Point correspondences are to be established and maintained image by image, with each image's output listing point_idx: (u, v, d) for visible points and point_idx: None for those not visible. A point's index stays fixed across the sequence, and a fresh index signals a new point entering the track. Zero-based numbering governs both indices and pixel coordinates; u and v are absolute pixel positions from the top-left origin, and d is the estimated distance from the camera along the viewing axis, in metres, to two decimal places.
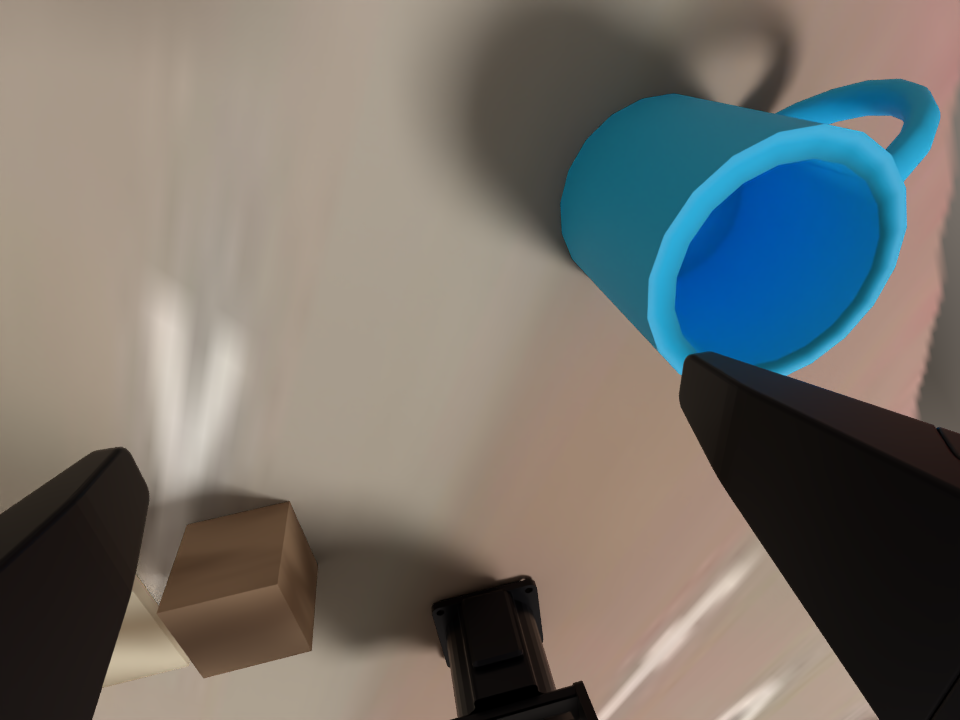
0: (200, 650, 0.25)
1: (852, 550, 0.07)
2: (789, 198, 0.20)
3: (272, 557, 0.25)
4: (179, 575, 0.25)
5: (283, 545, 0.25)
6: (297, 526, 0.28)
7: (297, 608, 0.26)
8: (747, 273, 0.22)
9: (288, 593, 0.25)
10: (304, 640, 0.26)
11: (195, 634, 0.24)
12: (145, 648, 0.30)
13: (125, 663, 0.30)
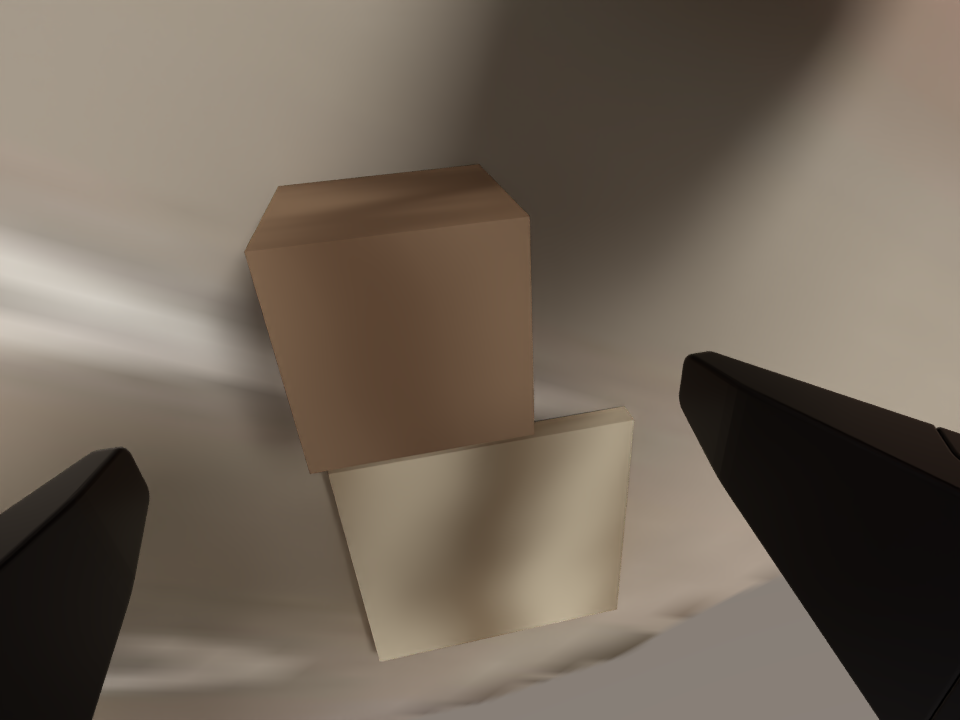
0: (443, 426, 0.12)
1: (852, 550, 0.07)
2: None
3: None
4: None
5: (264, 217, 0.11)
6: (336, 183, 0.13)
7: (398, 222, 0.10)
8: None
9: (326, 232, 0.10)
10: (482, 226, 0.10)
11: (391, 427, 0.12)
12: (564, 462, 0.19)
13: (587, 489, 0.20)
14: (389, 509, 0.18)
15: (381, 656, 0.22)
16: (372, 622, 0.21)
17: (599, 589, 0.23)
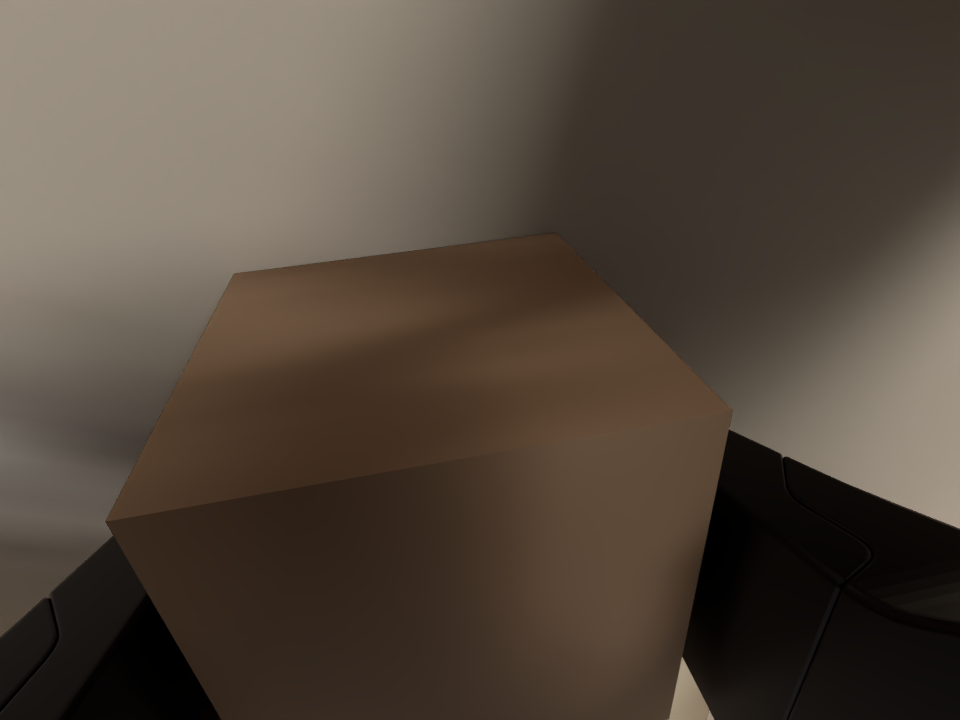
0: None
1: (701, 583, 0.06)
2: None
3: None
4: None
5: (185, 371, 0.06)
6: (328, 272, 0.08)
7: (449, 411, 0.05)
8: None
9: (297, 449, 0.05)
10: (634, 434, 0.05)
11: None
12: None
13: None
14: None
15: None
16: None
17: None
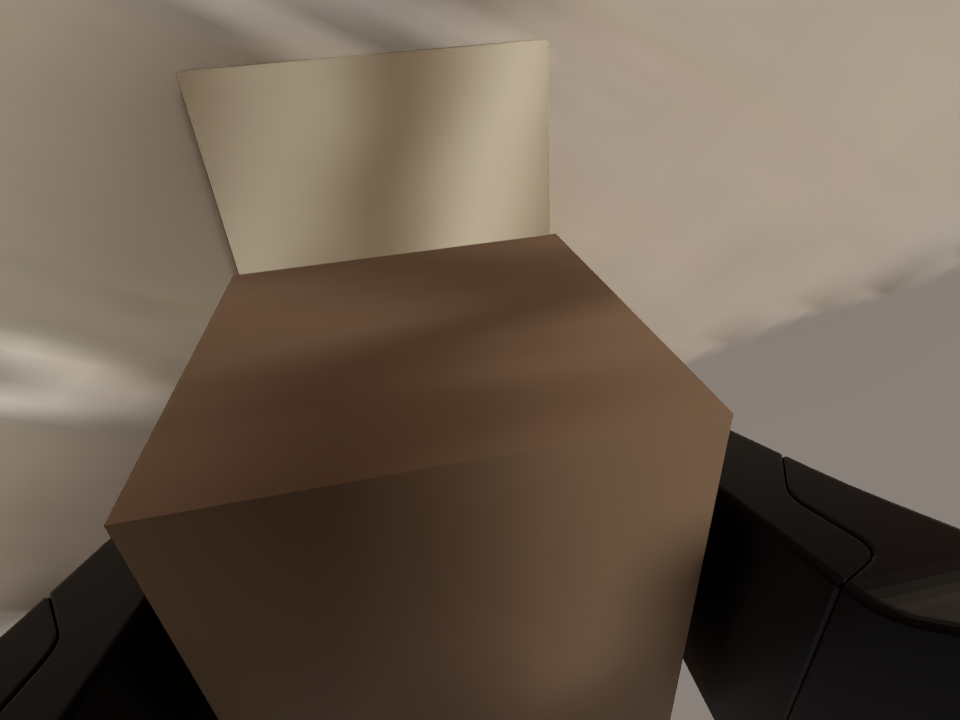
0: None
1: (701, 583, 0.06)
2: None
3: None
4: None
5: (185, 374, 0.06)
6: (328, 273, 0.08)
7: (448, 414, 0.05)
8: None
9: (297, 451, 0.05)
10: (634, 438, 0.05)
11: None
12: (468, 99, 0.16)
13: (500, 148, 0.17)
14: (259, 144, 0.16)
15: None
16: None
17: None
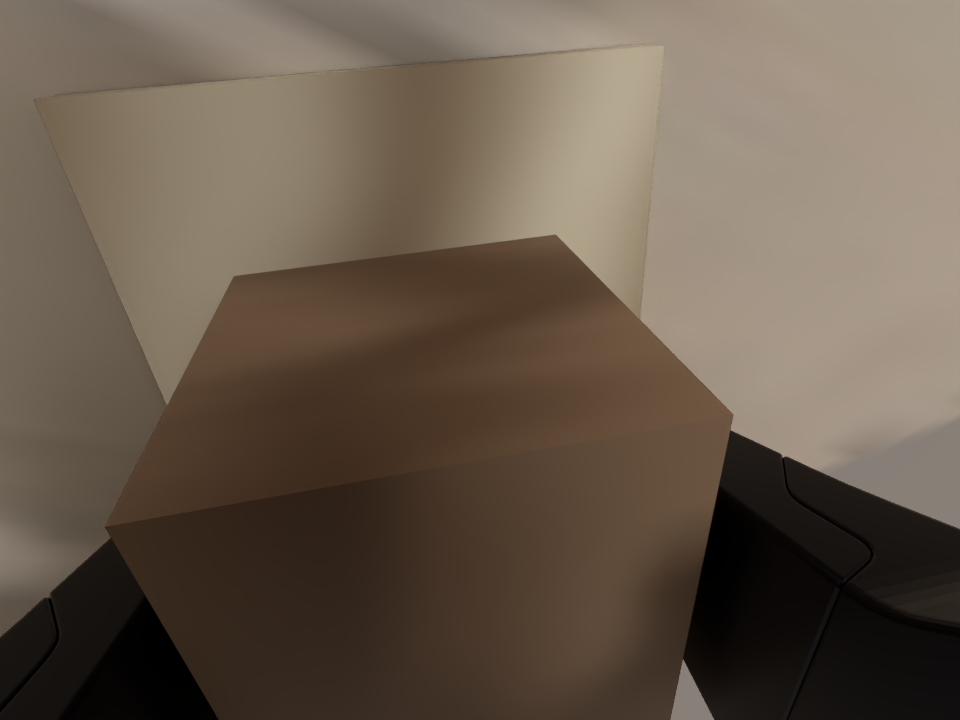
0: None
1: (701, 583, 0.06)
2: None
3: None
4: None
5: (186, 375, 0.06)
6: (328, 274, 0.08)
7: (449, 415, 0.05)
8: None
9: (299, 452, 0.05)
10: (635, 439, 0.05)
11: None
12: (531, 140, 0.10)
13: (575, 215, 0.11)
14: (189, 216, 0.09)
15: None
16: None
17: None
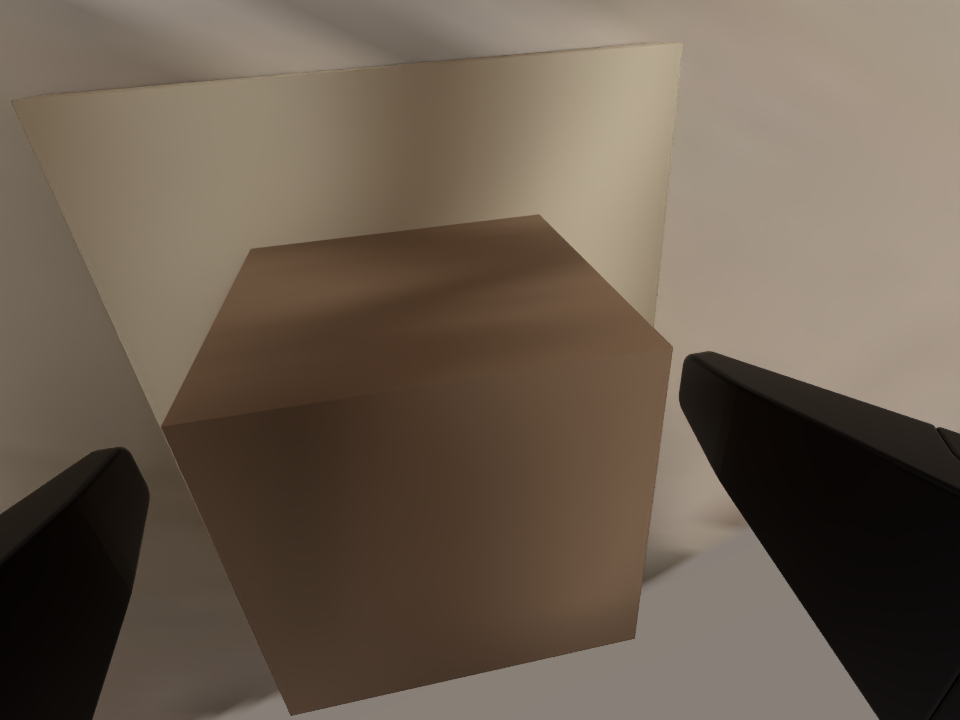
0: (500, 642, 0.08)
1: (852, 550, 0.07)
2: None
3: None
4: None
5: (215, 322, 0.07)
6: (335, 247, 0.09)
7: (439, 349, 0.06)
8: None
9: (313, 376, 0.06)
10: (591, 366, 0.06)
11: (418, 649, 0.07)
12: (541, 143, 0.09)
13: (588, 221, 0.10)
14: (178, 223, 0.09)
15: None
16: None
17: None
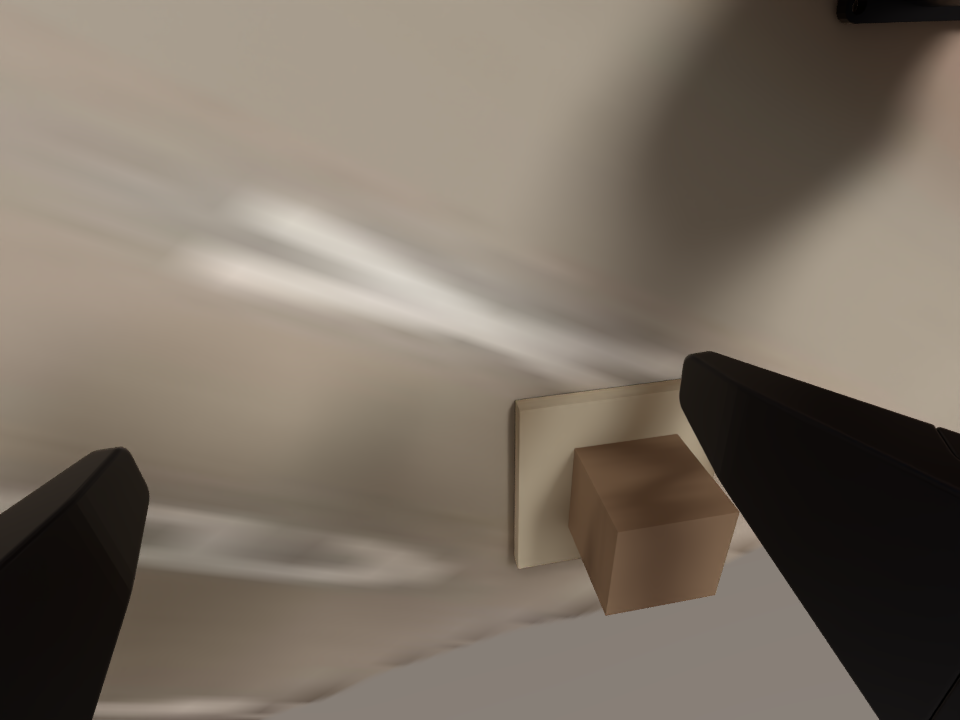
0: (673, 593, 0.24)
1: (852, 550, 0.07)
2: None
3: (602, 511, 0.22)
4: (591, 573, 0.25)
5: (598, 492, 0.23)
6: (608, 450, 0.25)
7: (675, 509, 0.22)
8: None
9: (646, 517, 0.22)
10: (718, 516, 0.22)
11: (650, 594, 0.23)
12: (682, 412, 0.25)
13: (694, 435, 0.26)
14: (554, 441, 0.25)
15: (520, 564, 0.28)
16: (520, 534, 0.27)
17: None
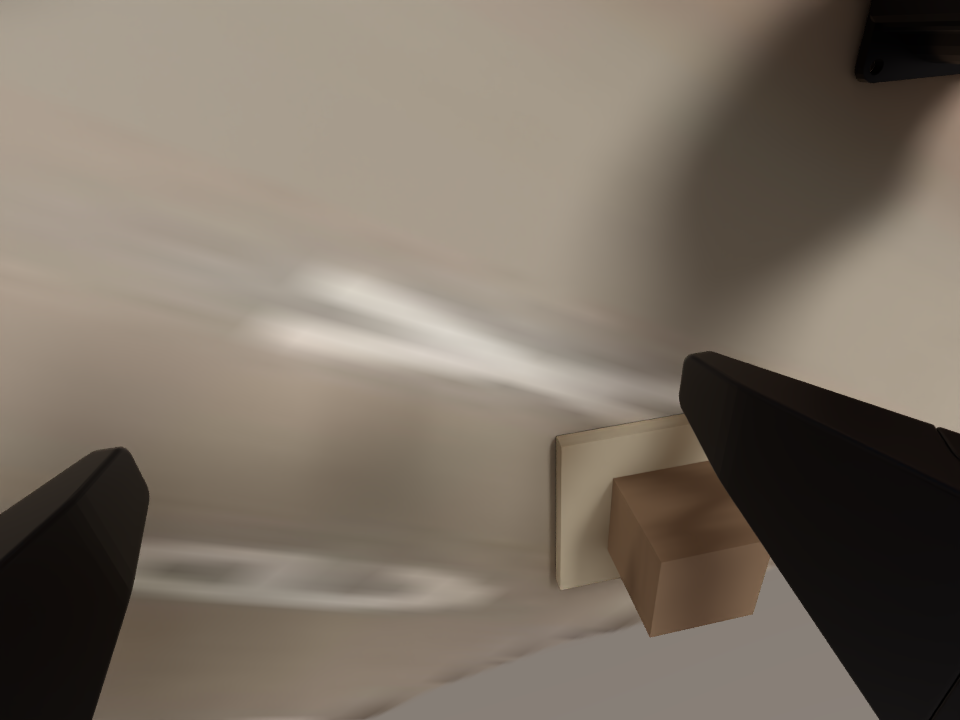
0: (714, 614, 0.25)
1: (852, 550, 0.07)
2: None
3: (644, 540, 0.24)
4: (634, 596, 0.26)
5: (639, 522, 0.24)
6: (645, 479, 0.26)
7: (714, 537, 0.23)
8: None
9: (686, 546, 0.23)
10: (755, 544, 0.23)
11: (691, 616, 0.25)
12: None
13: None
14: (593, 473, 0.26)
15: (562, 586, 0.30)
16: (563, 558, 0.29)
17: None
